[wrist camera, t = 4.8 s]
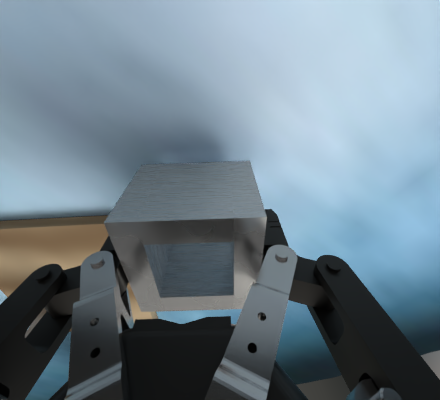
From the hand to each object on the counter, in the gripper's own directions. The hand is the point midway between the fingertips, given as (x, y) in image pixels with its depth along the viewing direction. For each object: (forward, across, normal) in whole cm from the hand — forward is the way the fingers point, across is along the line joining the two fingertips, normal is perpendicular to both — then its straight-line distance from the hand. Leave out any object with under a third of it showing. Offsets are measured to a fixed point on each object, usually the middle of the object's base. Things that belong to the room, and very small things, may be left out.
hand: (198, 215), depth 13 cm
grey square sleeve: (+1, 0, 0) cm, 1 cm away
